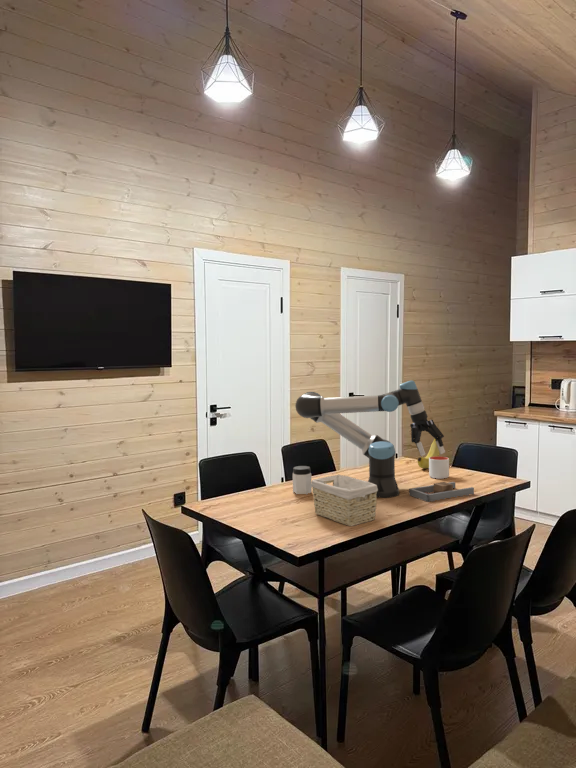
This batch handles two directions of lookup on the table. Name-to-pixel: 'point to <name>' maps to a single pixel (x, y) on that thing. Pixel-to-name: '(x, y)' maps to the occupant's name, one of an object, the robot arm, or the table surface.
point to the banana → (429, 455)
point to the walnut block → (442, 487)
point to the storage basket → (345, 499)
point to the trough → (425, 492)
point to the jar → (302, 480)
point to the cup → (439, 467)
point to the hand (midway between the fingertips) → (432, 454)
